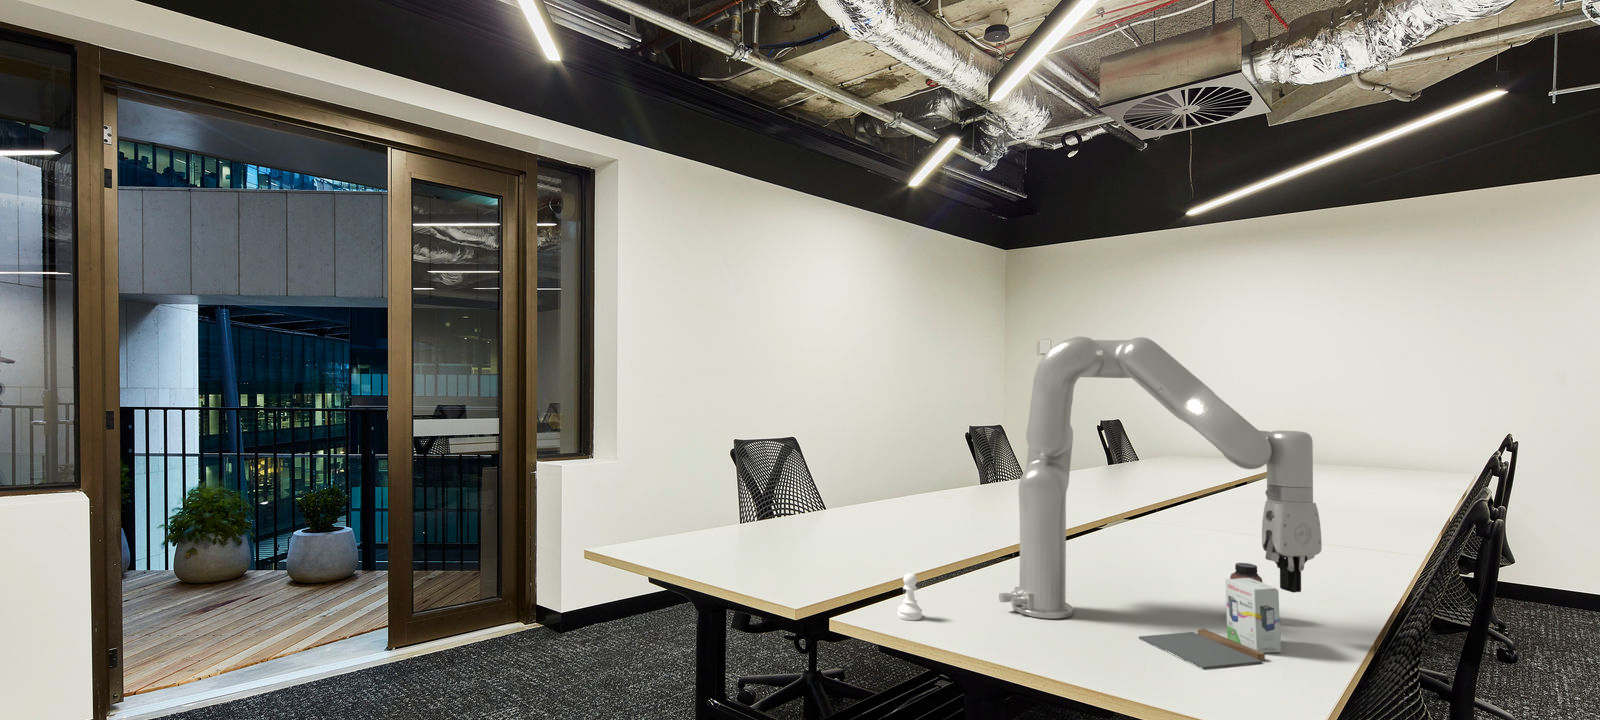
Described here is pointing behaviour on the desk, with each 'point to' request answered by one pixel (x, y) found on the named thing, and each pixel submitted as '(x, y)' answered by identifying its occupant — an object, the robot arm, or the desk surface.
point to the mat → (1200, 650)
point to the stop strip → (1232, 644)
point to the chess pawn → (909, 600)
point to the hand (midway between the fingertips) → (1290, 590)
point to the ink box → (1253, 614)
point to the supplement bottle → (1246, 572)
